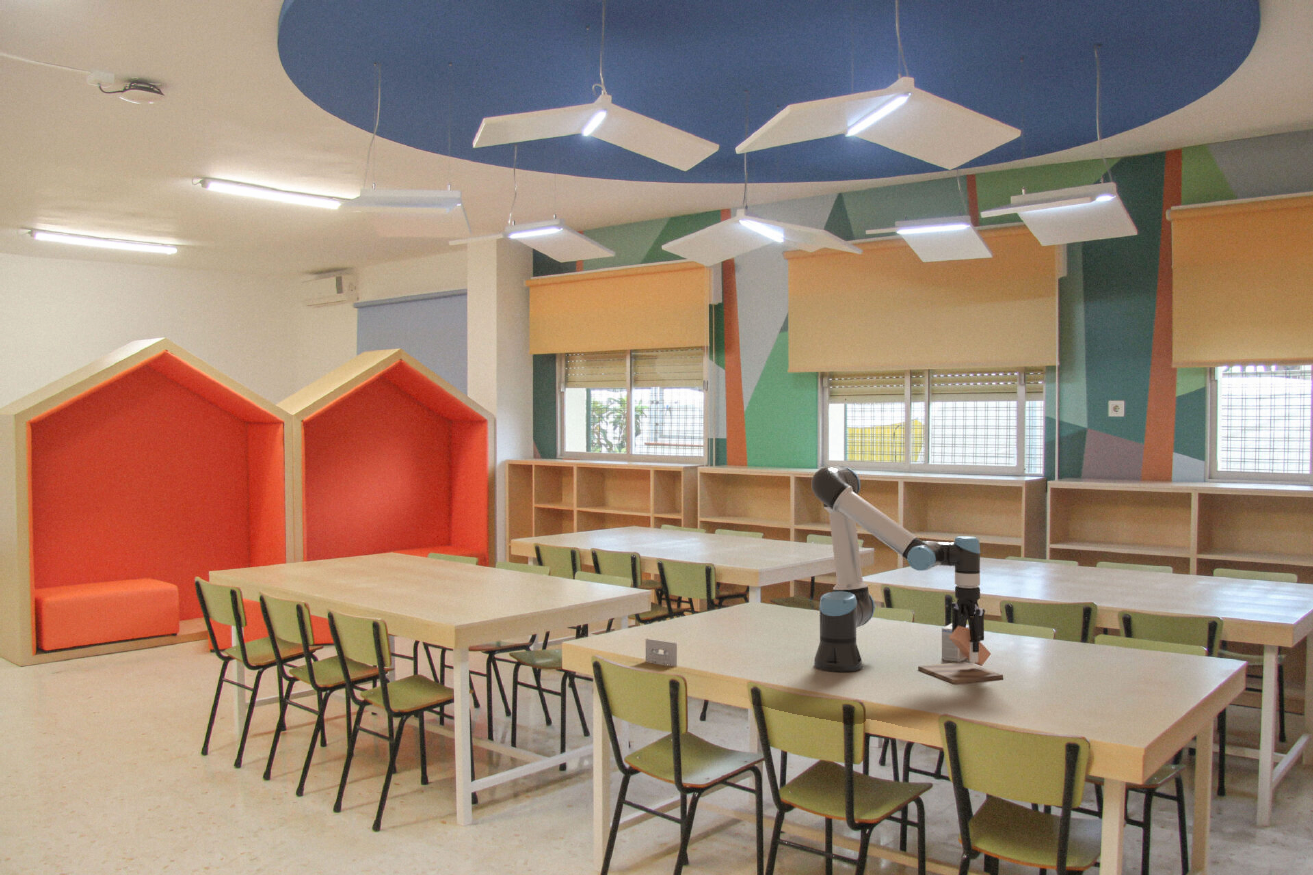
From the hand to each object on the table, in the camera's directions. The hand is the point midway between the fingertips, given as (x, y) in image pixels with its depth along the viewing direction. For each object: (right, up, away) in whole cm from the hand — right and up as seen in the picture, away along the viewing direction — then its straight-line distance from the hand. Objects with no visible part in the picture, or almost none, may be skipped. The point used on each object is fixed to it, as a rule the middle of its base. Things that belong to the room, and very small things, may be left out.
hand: (967, 660), depth 287 cm
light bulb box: (+3, -5, +21) cm, 22 cm away
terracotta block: (+5, 0, +2) cm, 5 cm away
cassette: (-96, -5, +12) cm, 97 cm away
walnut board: (-3, -4, -1) cm, 5 cm away
